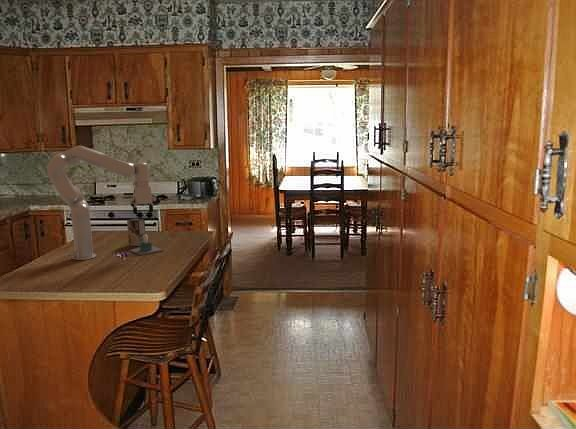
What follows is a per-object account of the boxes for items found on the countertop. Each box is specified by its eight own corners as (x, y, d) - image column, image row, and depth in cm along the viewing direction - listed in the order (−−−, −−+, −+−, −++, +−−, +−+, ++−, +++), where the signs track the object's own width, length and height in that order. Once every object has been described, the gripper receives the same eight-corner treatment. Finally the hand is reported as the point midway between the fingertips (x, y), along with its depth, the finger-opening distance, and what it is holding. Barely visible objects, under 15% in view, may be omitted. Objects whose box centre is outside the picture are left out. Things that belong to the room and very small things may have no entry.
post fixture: (140, 255, 283) (139, 238, 282) (130, 251, 294) (128, 234, 292) (162, 251, 293) (161, 234, 291) (151, 247, 303) (150, 231, 301)
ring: (143, 251, 288) (143, 244, 287) (138, 249, 293) (138, 242, 292) (153, 249, 292) (153, 242, 292) (148, 247, 297) (148, 240, 297)
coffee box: (146, 244, 312) (145, 219, 309) (140, 246, 306) (139, 220, 303) (134, 243, 315) (132, 218, 312) (128, 245, 309) (126, 220, 306)
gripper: (130, 185, 278) (132, 215, 280) (158, 183, 289) (159, 212, 292) (124, 184, 283) (126, 214, 286) (152, 182, 295) (153, 210, 297)
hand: (143, 213), depth 289 cm, fingers open, 9 cm apart
